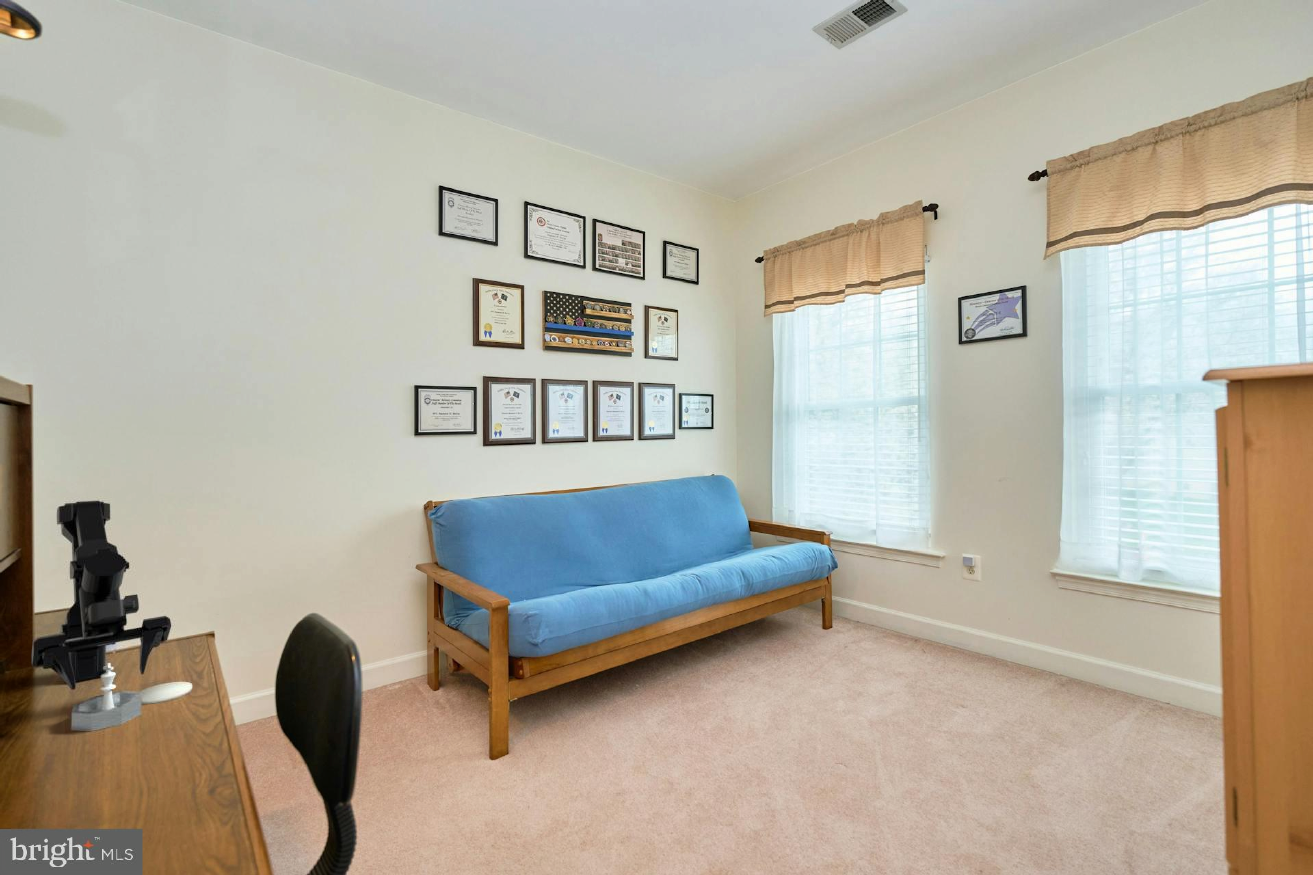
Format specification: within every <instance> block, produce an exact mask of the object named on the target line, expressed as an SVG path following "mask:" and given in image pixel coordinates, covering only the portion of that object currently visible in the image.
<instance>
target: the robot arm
mask: <svg viewBox="0 0 1313 875" xmlns="http://www.w3.org/2000/svg"><path fill="white" fill-rule="evenodd" d="M110 520H111V503H107V502H104V501H100V500H82V501H75V502H69V503H68V502H67V503H64V505H61V506H58V507H57V509H56V525H60V530H61V532H60V533H61V534H62V536H63V537H64V538H65V539H67V540H68V541H69V542H70V543H71V556H72V560H70V562H69V579H70V580H73V599H74V601H73V602H74V603H73V605H71V607H70V609H69V610H68V611H67V613H66V616H65V619H64V623H62V624H61V626H60V633H57V634H56V633H55V634H49V635H45V636H44V635H43V636H38V637H36V638H35V639H34V640H33V641H32V649H31V667H33V668H34V667H35V668H39V667H42V669H43V670H47V669H48V670H49V669H51V670H52V671H53V672H55V673H56V674H57V675H59V677H61V678H62V680H63V681H64V684H67V686H68V687H69V688H70V690H76V682H80V681H87V680H92V679H97V678H101V675H102V674H104V673H106V670H104V669H103V667H105V666H106V664H107V663H106V660H107V659H106V658H107V646H110V645H111V646H114V645H116V643H121V642H126V641H132V640H136V639H139V640H140V645H139V646H140V647H139V672H140V675H144V674H145V670H146V666H147V663H148V659H149V656H150V654H151V653H152V650H153V648H158V647H159V646H160V645H161V644H162V643H164V642H167V641H168V640H169V639H168V638H169V635H170V633H171V632H170V631H171V629H172V621H171V618H170V617H169V616H166V615H162V616H155V617H150V618H144V619H143V620H142V624H141V627H140V626H139V627H134V628H129V629H125V626H127V624H128V621H127V615H130V614H137V613H138V611H139V610H140V609H139V608H140V603H139V596H138V594H130V595H125V596H124V597H123V599H121V593H120V587H121V586H122V584H123V580H124V574H125V573H126V571H127V570H128V569H130V562H129V561H127V560H126V558H125V557H124V556H123V555H121V554H120V553H119V551H118V547H117V546H116V545H115V544H113V543H111V542H108V538H107V537H108V536H107V532H106V528H105V527H106V523H107V522H109V521H110Z"/></svg>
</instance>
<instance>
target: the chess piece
mask: <svg viewBox="0 0 1313 875" xmlns="http://www.w3.org/2000/svg"><path fill="white" fill-rule="evenodd" d="M111 664H112V663H111V662H108V663H106V666H105V667H103V669H104V670H106V673H104V674H102V675H101V677H100V679H101V680H102V683H103V686H101V687H100V689H99V690H100V691H103V695H104V699H103V705H102V709H101V710H105V709H110V708H115V707H114V703H113V697H112V693H113V691H112V690H114V689H115V688H117V686H116V684H113V682H114V678H115V677H116V675H117V673H116V672H114V671H112V670H114V666H112V665H111Z"/></svg>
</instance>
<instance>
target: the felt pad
mask: <svg viewBox="0 0 1313 875" xmlns="http://www.w3.org/2000/svg"><path fill="white" fill-rule="evenodd" d="M192 690H193V683H192V682H187V681H173V682H172V681H171V682H165V683H160V684H157V685H153V686H150V687H147V688H144V689H142V690H139V692H141V705H147V704H157V703H163V702H167V701H172V700H175V699H177V698H181V697H183V696H186V695H187V694H189V693H190V692H191V691H192Z"/></svg>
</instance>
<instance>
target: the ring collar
mask: <svg viewBox="0 0 1313 875" xmlns="http://www.w3.org/2000/svg"><path fill="white" fill-rule="evenodd" d="M112 697H113V703H114V707H115V708H110V709H105V710H101V709H102V705H103V699H104V694H101V695H100V694H99V695H96V696H92V697H90V698H89V699H88V698H87V699H85V700H84V701H81V702H79V703H76V704H73V706H72V709H71V731H78V732H79V731H82V732H95V731H98V730H99V731H100V730H102V729H107V728H112V727H116V726H120V725H123V724H125V723H128V722H129V721H131V720H133V719H135V718H137V717H140V716H141V715H142V704H141V692H140V691H136V690H135V691H133V690H130V691H129V690H120V691H115V692H112Z"/></svg>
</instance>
